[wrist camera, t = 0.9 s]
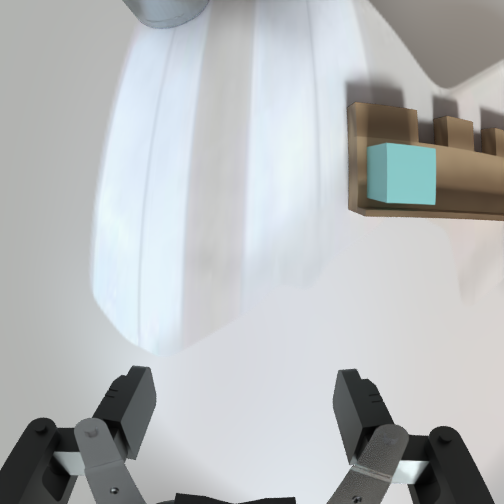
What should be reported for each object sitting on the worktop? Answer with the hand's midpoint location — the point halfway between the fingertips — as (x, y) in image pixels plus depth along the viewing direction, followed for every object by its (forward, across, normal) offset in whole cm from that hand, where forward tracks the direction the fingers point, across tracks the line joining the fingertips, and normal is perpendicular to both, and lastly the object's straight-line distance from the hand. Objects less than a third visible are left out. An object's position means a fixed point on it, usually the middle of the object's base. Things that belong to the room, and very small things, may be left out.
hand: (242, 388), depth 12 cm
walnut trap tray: (+22, -23, -10) cm, 34 cm away
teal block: (+19, -14, -9) cm, 25 cm away
